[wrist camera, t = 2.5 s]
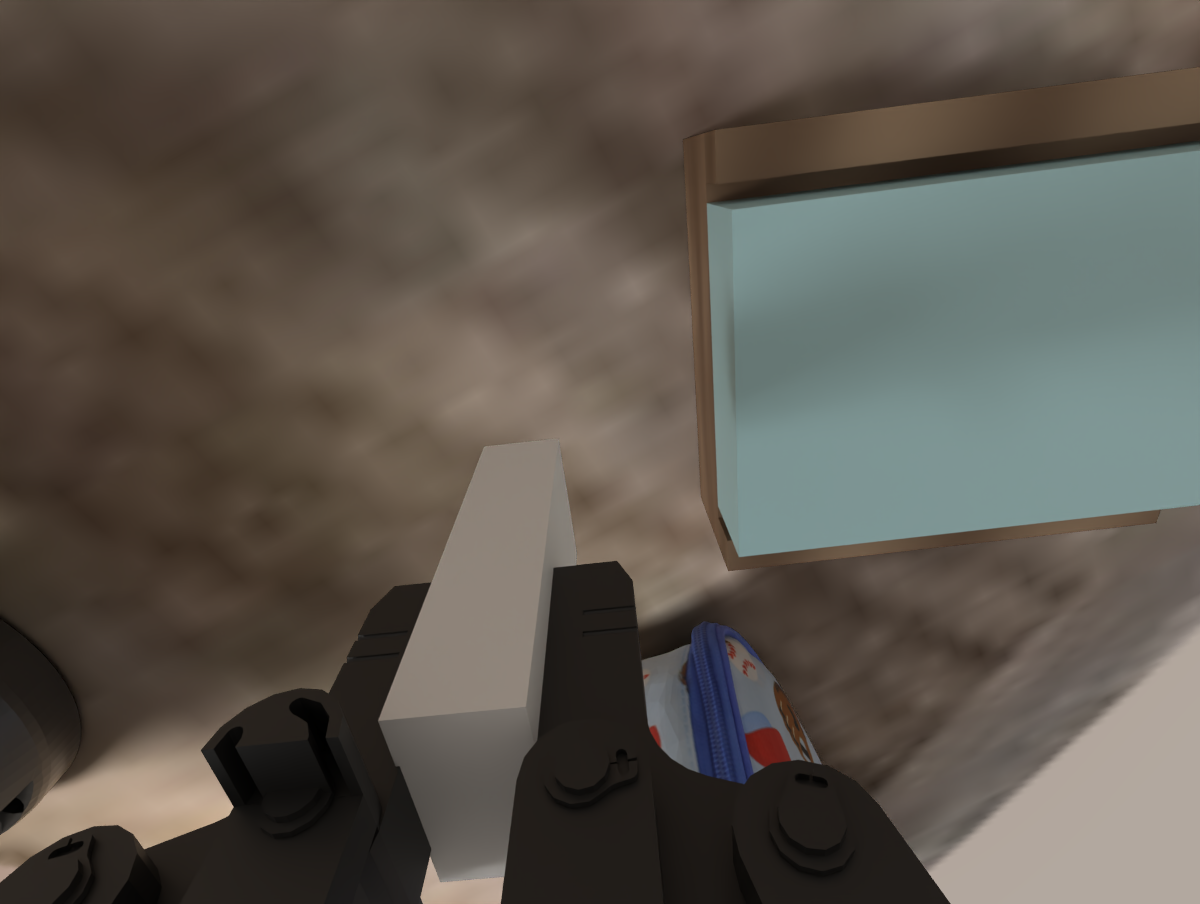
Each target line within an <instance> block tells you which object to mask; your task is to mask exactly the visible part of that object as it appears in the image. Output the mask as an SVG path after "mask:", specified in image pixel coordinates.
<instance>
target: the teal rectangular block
mask: <svg viewBox="0 0 1200 904" xmlns="http://www.w3.org/2000/svg"><path fill="white" fill-rule="evenodd" d="M707 223H708V250H709V277H710V304H711V331H712V358H713V385H714V412H715V439H716V466H717V493H718V507H719V509H720V512H721V514H722V517H723V519H724V522H725V524H726V527H727V529H728V531H729V534H730V536H731V539H732V541H733V544H734V546H735V549H736V551H737V554H738V556H739V557H744V556H753V555H762V554H771V553H780V552H789V551H798V550H806V549H815V548H824V547H833V546H842V545H851V544H859V543H868V542H877V541H886V540H895V539H904V538H913V537H921V536H930V535H939V534H948V533H957V532H966V531H974V530H983V529H992V528H1001V527H1010V526H1019V525H1028V524H1036V523H1045V522H1054V521H1063V520H1072V519H1081V518H1089V517H1098V516H1107V515H1116V514H1125V513H1134V512H1143V511H1151V510H1160V509H1169V508H1178V507H1187V506H1196V505H1200V141H1193V142H1185V143H1177V144H1169V145H1161V146H1153V147H1145V148H1138V149H1130V150H1122V151H1114V152H1106V153H1098V154H1090V155H1082V156H1075V157H1067V158H1059V159H1051V160H1043V161H1035V162H1027V163H1019V164H1012V165H1004V166H996V167H988V168H980V169H972V170H964V171H957V172H949V173H941V174H933V175H925V176H917V177H909V178H901V179H894V180H886V181H878V182H870V183H862V184H854V185H846V186H838V187H831V188H823V189H815V190H807V191H799V192H791V193H783V194H776V195H768V196H760V197H752V198H744V199H736V200H728V201H720V202H713V203H707Z"/></svg>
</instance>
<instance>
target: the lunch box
mask: <svg viewBox="0 0 1200 904" xmlns="http://www.w3.org/2000/svg"><path fill="white" fill-rule="evenodd" d="M691 637H692V643H691V644H688V645H684V646H682V647H680V648H678V649H675V650H673V651H671V652H669V653H665V654H662V655H658V656H655V657H651V658H648V659H644V660H642V669H643V679H644V689H645V698H646V708H647V718H648V725H649V729H650V732H651V734H652V735H653V737H654V739H655V740H656V742H657V744H658V746H659V747H660V748H661V749H662V750H663V751H664V752H665V753H666V754H667V755H668V756H669V757H670V758H671V759H673V760H675V761H676V762H678V763H679V764H681V765H683V766H684V767H686V768H687V769H690V770H693V771H696V772H698V773H701V774H704V775H707V776H711V777H716V778H720V779H724V780H729V781H733V782H737V783H742V784H745V783H746V781H747V780H748V778H749V777H750V776H751V775H752V774H754V773H756V772H758V771H759V770H761V769H763V768H765V767H766V766H768V765H770V764H771V763H777V762H785V761H793V760H803V761H807V762H812V763H817V764H822V763H821V761H820V759H819V757H818V755H817V754H816V752H815V750H814V748H813V746H812V744H811V742H810V740H809V738H808V736H807V734H806V732H805V731H804V729H803V727H802V725H801V723H800V721H799V719H798V717H797V716H796V714H795V712H794V710H793V708H792V706H791V704H790V702H789V700H788V698H787V697H786V695H785V693H784V692H783V690H782V688H781V687H780V685H779V684H778V682H777V680H776V679H775V677H774V676H773V675H772V674H771V673H770V671H769V670H768V669H767V668H766V667H765V666H764V664H763V663H762V661H761V660H760V658H759V657H758V655H757V654H756V653H755V651H754V650H753V649H752V647H751V646H750V645H749V644H748V643H747V641H746V640H745V639H744V638H743V637H742V636H741V635H740V634H739V633H738V632H736V631H735V630H733V629H732V628H730V627H728V626H725V625H719V624H718V623H709V622H706V621H703V622H702V623H701V624H699V625H697V626H696V627H694V628H693V630H692V635H691Z"/></svg>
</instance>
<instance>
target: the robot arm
mask: <svg viewBox="0 0 1200 904" xmlns="http://www.w3.org/2000/svg"><path fill="white" fill-rule="evenodd" d="M576 559H577V550H576V544H575V538H574V531H573V525H572V519H571V513H570V506H569V500H568V494H567V488H566V481H565V475H564V469H563V463H562V456H561V450H560V444H559V438H555V439H546V440H538V441H529V442H520V443H511V444H502V445H493V446H484V448H483V451H482V453H481V456H480V459H479V461H478V464H477V466H476V469H475V471H474V474H473V477H472V479H471V482H470V484H469V487H468V490H467V492H466V495H465V497H464V500H463V502H462V505H461V508H460V510H459V513H458V515H457V518H456V521H455V523H454V526H453V528H452V531H451V534H450V536H449V539H448V541H447V544H446V546H445V549H444V552H443V554H442V557H441V559H440V562H439V565H438V567H437V570H436V572H435V575H434V577H433V580H432V583H422V584H413V585H403V586H395V587H394V588H393V589H391V590H390V591H389V592H388V593H387V594H386V595H385V596H384V597H383V598H382V599H381V600H380V601H379V602H378V603H377V604H376V605H375V606H374V607H373V608H372V609H371V610H370V612H369V614H368V616H367V618H366V620H365V622H364V624H363V626H362V628H361V630H360V632H359V634H358V641H355V642H354V644H353V646H352V648H351V650H350V652H349V654H348V656H347V663H344V664H343V666H342V668H341V670H340V672H339V674H338V676H337V678H336V680H335V682H334V684H333V686H332V688H331V690H330V692H329V694H328V693H326V692H325V691H323V690H318V689H303V688H299V689H295V690H291V691H287V692H283V693H278V694H274V695H272V696H270V697H268V698H266V699H264V700H262V701H260V702H258V703H256V704H254V705H251V706H249V707H247V708H246V709H244V710H243V711H242V712H240V713H239V714H238V715H236V716H235V717H234V718H232V719H231V720H230V721H228V722H227V723H226V724H224V725H223V726H222V727H221V728H220V729H219V730H218V731H217V732H216V733H215V735H214V736H213V737H212V738H211V739H210V740H209V741H208V743H207V744H206V745H205V746H204V747H203V748H202V749H201V751H202V753H203V755H204V757H205V758H206V760H207V762H208V763H209V765H210V767H211V769H212V770H213V772H214V774H215V775H216V777H217V779H218V781H219V782H220V784H221V786H222V787H223V789H224V791H225V793H226V794H227V796H228V798H229V799H230V801H231V803H232V805H233V806H234V808H233V809H232V811H231V813H230V815H229V816H228V817H226V818H224V819H222V820H219V821H217V822H215V823H213V824H210V825H207V826H205V827H202V828H200V829H197V830H194V831H192V832H189V833H186V834H184V835H181V836H178V837H176V838H173V839H171V840H168V841H165V842H163V843H160V844H157V845H155V846H152V847H149V848H147V849H143V847H142V846H141V845H140V843H139V842H138V840H137V839H136V838H135V836H134V835H133V834H132V833H130V832H128V831H127V830H125V829H123V828H122V827H120V826H118V825H114V826H94V827H91V828H89V829H86V830H83V831H80V832H78V833H75V834H72V835H69V836H67V837H64V838H62V839H60V840H59V841H57V842H55V843H54V844H52V845H50V846H49V847H47V848H45V849H44V850H42V851H40V852H39V853H37V854H35V855H34V856H32V857H30V858H29V859H28V860H27V861H26V862H24V863H23V864H22V865H21V866H20V867H18V868H17V869H16V870H15V871H14V872H12V873H11V874H10V875H9V876H8V877H6V879H4V880H3V881H2V882H1V883H0V904H423V903H422V901H421V898H420V896H421V892H422V887H423V883H424V879H425V875H426V870H427V866H428V862H429V858H430V856H431V859H432V862H433V864H434V867H435V869H436V872H437V875H438V877H439V880H440V882H449V881H460V880H472V879H484V878H496V877H504V883H503V891H502V899H501V904H950V902H949V901H948V900H947V898H946V897H945V895H944V894H943V893H942V891H941V890H940V889H939V887H938V886H937V884H936V883H935V882H934V880H933V879H932V878H931V876H930V875H929V873H928V872H927V871H926V869H925V868H924V866H923V865H922V864H921V862H920V861H919V860H918V858H917V857H916V855H915V854H914V853H913V851H912V850H911V848H910V847H909V846H908V844H907V843H906V842H905V840H904V839H903V837H902V836H901V835H900V833H899V832H898V831H897V829H896V828H895V826H894V825H893V824H892V822H891V821H890V819H889V818H888V817H887V815H886V814H885V813H884V811H883V810H882V808H881V807H880V806H879V804H878V803H877V802H876V801H875V800H874V799H873V798H872V797H871V796H870V795H869V794H868V793H867V792H866V791H865V790H864V789H863V788H862V787H861V786H860V785H859V784H858V783H857V782H856V781H854V780H853V779H851V778H849V777H847V776H845V775H844V774H842V773H840V772H838V771H836V770H835V769H833V768H831V767H829V766H826V765H822V764H817V763H812V762H807V761H803V760H793V761H785V762H777V763H771V764H770V765H768V766H766V767H765V768H763V769H761V770H759V771H758V772H756V773H754V774H752V775H751V776H750V777H749V778H748V780H747V781H746V783H745V784H742V783H737V782H733V781H729V780H724V779H720V778H716V777H711V776H707V775H704V774H701V773H698V772H696V771H693V770H690V769H687V768H686V767H684V766H683V765H681V764H679V763H678V762H676V761H675V760H673V759H671V758H670V757H669V756H668V755H667V754H666V753H665V752H664V751H663V750H662V749H661V748H660V747H659V746H658V744H657V742H656V740H655V739H654V737H653V735H652V734H651V732H650V729H649V725H648V718H647V708H646V698H645V689H644V679H643V669H642V659H641V650H640V642H639V633H638V624H637V615H636V607H635V598H634V589H633V581H632V579H631V578H630V577H629V575H628V574H627V573H626V572H625V570H624V569H623V568H622V567H621V565H620V564H619V563H618V562H617V561H612V562H603V563H593V564H584V565H576ZM80 739H81V724H80V718H79V713H78V710H77V707H76V704H75V701H74V699H73V696H72V694H71V693H70V691H69V689H68V687H67V685H66V684H65V682H64V680H63V679H62V677H61V676H60V675H59V673H58V672H57V671H56V669H55V668H54V667H53V666H52V664H51V663H50V662H49V661H48V660H47V659H46V657H45V656H44V655H43V654H42V653H41V652H40V651H39V650H38V649H37V648H36V647H35V646H33V645H32V644H31V643H30V642H29V641H28V640H27V639H26V638H24V637H23V636H22V635H21V634H20V633H18V632H17V631H16V630H15V629H13V628H12V627H11V626H9V625H8V624H6V623H5V622H4V621H2V620H1V619H0V835H1V834H2V833H4V832H5V831H7V830H8V829H10V828H11V827H12V826H14V825H15V824H16V823H18V822H19V821H20V820H21V819H23V818H24V817H25V816H26V815H27V814H28V813H29V812H30V811H31V810H32V809H33V808H34V807H35V806H36V805H37V804H38V803H39V802H40V801H41V800H42V798H43V797H44V796H45V795H46V794H47V793H48V791H49V790H50V789H51V788H52V787H53V786H54V785H55V783H56V782H57V781H58V780H59V779H60V778H61V776H62V775H63V774H64V773H65V772H66V770H67V769H68V768H69V767H70V765H71V764H72V762H73V761H74V759H75V757H76V754H77V752H78V749H79V745H80Z"/></svg>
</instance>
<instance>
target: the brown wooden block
mask: <svg viewBox="0 0 1200 904" xmlns="http://www.w3.org/2000/svg"><path fill="white" fill-rule="evenodd" d="M1193 141H1200V67H1195V68H1187V69H1180V70H1172V71H1164V72H1157V73H1149V74H1141V75H1133V76H1126V77H1118V78H1110V79H1103V80H1095V81H1087V82H1080V83H1072V84H1064V85H1056V86H1049V87H1041V88H1033V89H1026V90H1018V91H1010V92H1003V93H995V94H987V95H980V96H972V97H964V98H956V99H949V100H941V101H933V102H926V103H918V104H910V105H903V106H895V107H887V108H879V109H872V110H864V111H856V112H849V113H841V114H833V115H826V116H818V117H810V118H802V119H795V120H787V121H779V122H772V123H764V124H756V125H749V126H741V127H733V128H725V129H718V130H713V131H710V132H706V133H703V134H700V135H696V136H693V137H690V138H686V139H683V152H684V171H685V191H686V211H687V231H688V250H689V270H690V290H691V309H692V329H693V349H694V369H695V388H696V408H697V428H698V448H699V467H700V487H701V498H702V501H703V504H704V506H705V509H706V512H707V514H708V517H709V520H710V523H711V525H712V528H713V531H714V533H715V536H716V539H717V542H718V544H719V547H720V550H721V553H722V555H723V558H724V561H725V563H726V566H727V569H728V571H734V570H742V569H751V568H760V567H769V566H778V565H787V564H796V563H805V562H813V561H822V560H831V559H840V558H849V557H858V556H867V555H876V554H885V553H893V552H902V551H911V550H920V549H929V548H938V547H947V546H956V545H965V544H973V543H982V542H991V541H1000V540H1009V539H1018V538H1027V537H1036V536H1044V535H1053V534H1062V533H1071V532H1080V531H1089V530H1098V529H1107V528H1116V527H1124V526H1133V525H1142V524H1151V523H1156V522H1157V519H1158V516H1159V513H1160V510H1161V509H1160V510H1151V511H1143V512H1134V513H1125V514H1116V515H1107V516H1098V517H1089V518H1081V519H1072V520H1063V521H1054V522H1045V523H1036V524H1028V525H1019V526H1010V527H1001V528H992V529H983V530H974V531H966V532H957V533H948V534H939V535H930V536H921V537H913V538H904V539H895V540H886V541H877V542H868V543H859V544H851V545H842V546H833V547H824V548H815V549H806V550H798V551H789V552H780V553H771V554H762V555H753V556H744V557H739V556H738V554H737V551H736V549H735V546H734V544H733V541H732V539H731V536H730V534H729V531H728V529H727V527H726V524H725V522H724V519H723V517H722V514H721V512H720V509H719V507H718V493H717V466H716V439H715V412H714V385H713V358H712V331H711V304H710V277H709V250H708V223H707V203H713V202H720V201H728V200H736V199H744V198H752V197H760V196H768V195H776V194H783V193H791V192H799V191H807V190H815V189H823V188H831V187H838V186H846V185H854V184H862V183H870V182H878V181H886V180H894V179H901V178H909V177H917V176H925V175H933V174H941V173H949V172H957V171H964V170H972V169H980V168H988V167H996V166H1004V165H1012V164H1019V163H1027V162H1035V161H1043V160H1051V159H1059V158H1067V157H1075V156H1082V155H1090V154H1098V153H1106V152H1114V151H1122V150H1130V149H1138V148H1145V147H1153V146H1161V145H1169V144H1177V143H1185V142H1193Z"/></svg>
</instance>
